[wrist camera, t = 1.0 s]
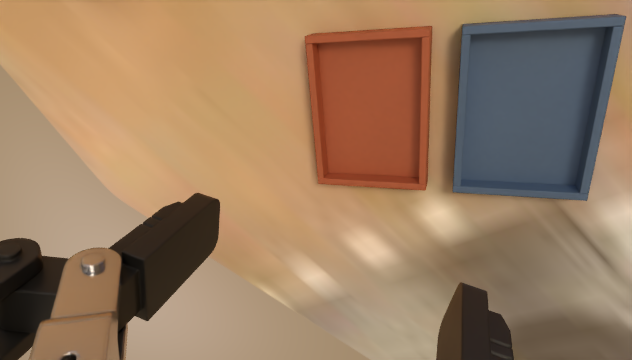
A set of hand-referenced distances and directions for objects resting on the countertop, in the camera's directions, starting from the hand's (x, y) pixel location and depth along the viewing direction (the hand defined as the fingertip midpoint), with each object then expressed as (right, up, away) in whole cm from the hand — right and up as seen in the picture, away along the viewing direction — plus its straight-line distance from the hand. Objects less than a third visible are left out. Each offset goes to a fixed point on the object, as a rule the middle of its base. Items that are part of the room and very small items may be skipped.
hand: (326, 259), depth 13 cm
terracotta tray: (+4, +9, +22) cm, 25 cm away
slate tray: (+16, +8, +19) cm, 26 cm away
